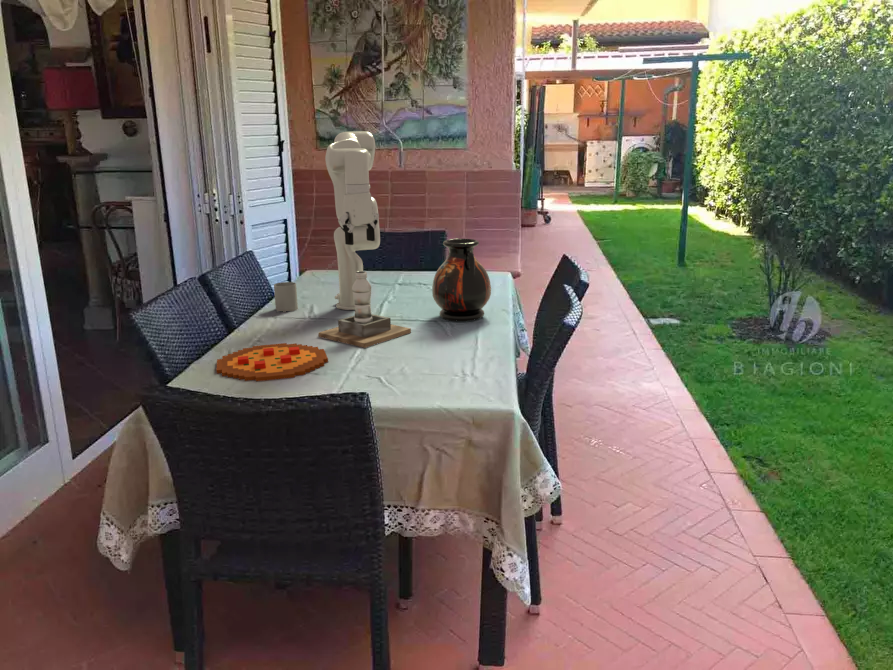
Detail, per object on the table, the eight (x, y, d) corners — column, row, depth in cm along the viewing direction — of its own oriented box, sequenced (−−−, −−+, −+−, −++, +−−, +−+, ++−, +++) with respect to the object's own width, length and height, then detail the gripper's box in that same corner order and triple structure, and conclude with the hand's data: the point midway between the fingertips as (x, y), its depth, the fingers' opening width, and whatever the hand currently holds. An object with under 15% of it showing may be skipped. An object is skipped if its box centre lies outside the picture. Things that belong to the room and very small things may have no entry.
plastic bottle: (377, 329, 248) (374, 271, 242) (367, 334, 242) (364, 274, 236) (360, 327, 250) (358, 269, 245) (350, 332, 244) (347, 273, 239)
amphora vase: (423, 313, 273) (421, 239, 265) (475, 307, 281) (475, 235, 273) (446, 327, 254) (445, 247, 246) (501, 320, 262) (501, 242, 254)
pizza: (333, 374, 208) (332, 364, 208) (216, 387, 200) (215, 376, 199) (320, 344, 238) (319, 335, 237) (218, 354, 230) (217, 344, 229)
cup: (301, 307, 286) (299, 282, 283) (290, 312, 279) (288, 287, 276) (283, 306, 289) (281, 281, 286) (271, 311, 281) (269, 285, 278)
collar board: (318, 336, 245) (317, 321, 244) (365, 323, 261) (364, 308, 260) (364, 347, 232) (364, 331, 230) (410, 332, 248) (410, 317, 247)
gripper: (368, 186, 242) (370, 238, 247) (329, 191, 229) (332, 245, 234) (384, 187, 237) (386, 240, 242) (346, 192, 225) (349, 247, 229)
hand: (360, 242), depth 238 cm, fingers open, 9 cm apart
